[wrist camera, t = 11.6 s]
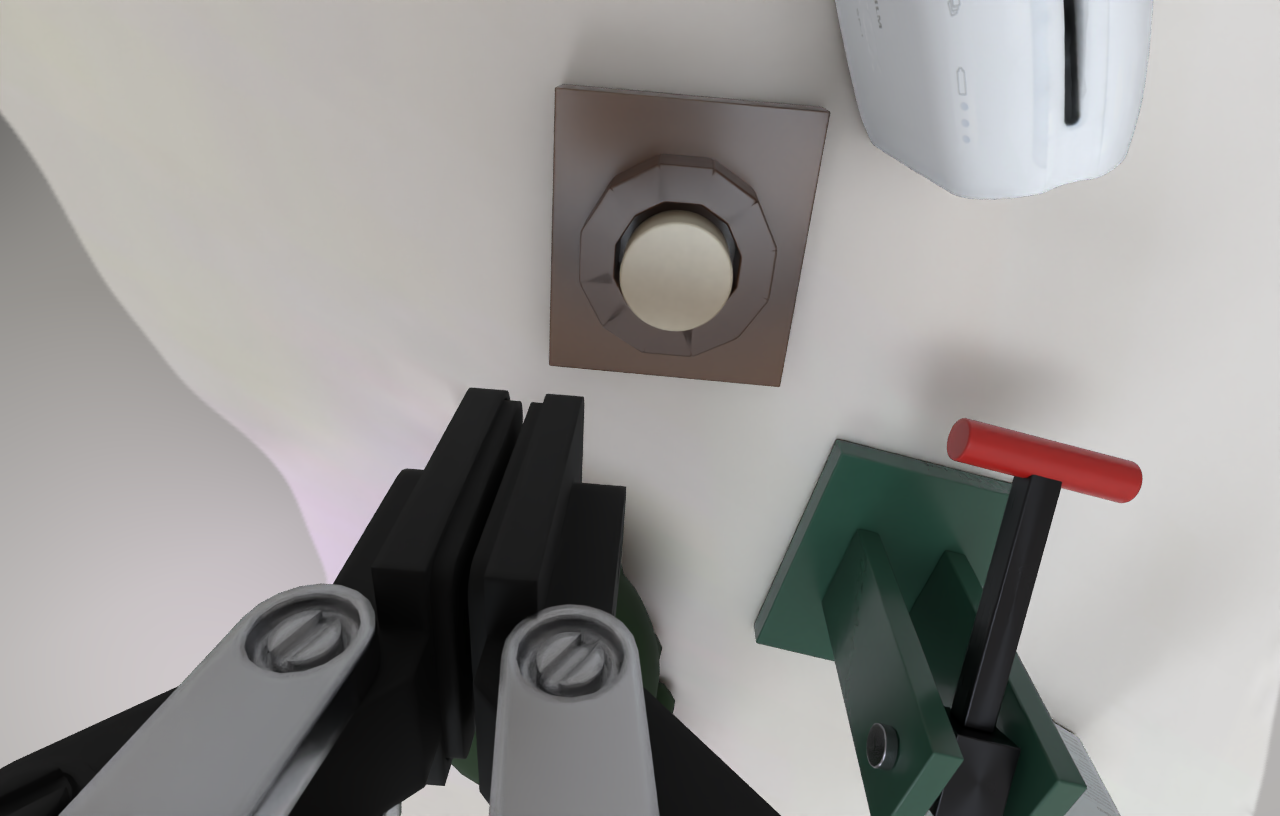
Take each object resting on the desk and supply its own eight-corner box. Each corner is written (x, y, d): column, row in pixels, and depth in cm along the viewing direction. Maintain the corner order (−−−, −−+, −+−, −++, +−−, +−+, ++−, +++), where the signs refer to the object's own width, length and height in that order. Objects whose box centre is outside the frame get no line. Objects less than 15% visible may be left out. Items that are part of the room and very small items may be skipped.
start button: (627, 204, 24) (622, 216, 23) (737, 214, 24) (740, 227, 23) (620, 308, 26) (615, 326, 24) (722, 318, 26) (725, 337, 24)
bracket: (836, 438, 31) (917, 660, 20) (1035, 488, 32) (1216, 731, 21) (753, 625, 36) (782, 883, 25) (926, 666, 37) (1026, 935, 26)
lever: (946, 415, 25) (982, 419, 23) (1107, 457, 26) (1159, 466, 23) (851, 765, 26) (878, 805, 23) (1012, 801, 26) (1053, 844, 24)
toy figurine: (723, 751, 43) (615, 393, 30) (754, 1232, 27) (553, 909, 14) (568, 768, 45) (402, 433, 32) (511, 1234, 29) (128, 942, 16)
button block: (561, 83, 25) (544, 92, 22) (823, 107, 25) (842, 118, 22) (554, 350, 30) (539, 388, 27) (775, 371, 30) (786, 411, 27)
